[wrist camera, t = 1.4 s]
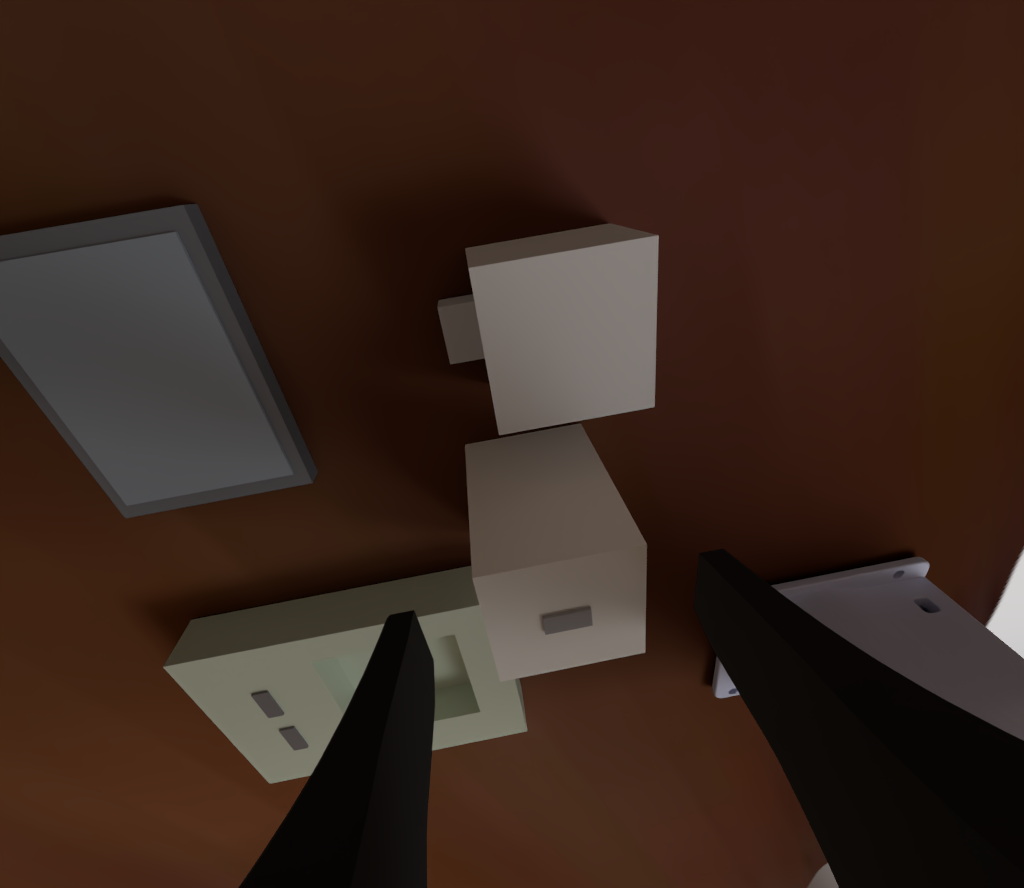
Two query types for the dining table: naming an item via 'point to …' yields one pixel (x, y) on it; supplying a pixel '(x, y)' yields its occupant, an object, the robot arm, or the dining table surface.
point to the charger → (553, 554)
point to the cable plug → (560, 324)
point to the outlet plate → (339, 668)
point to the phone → (147, 360)
